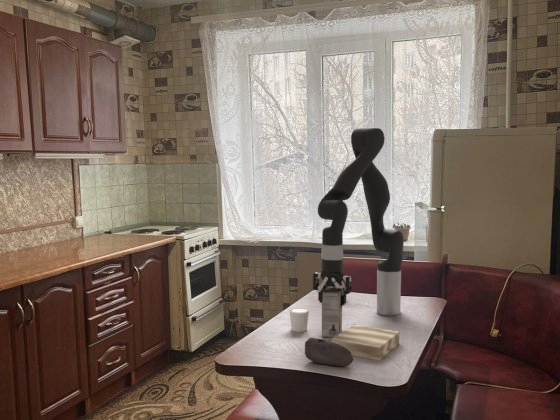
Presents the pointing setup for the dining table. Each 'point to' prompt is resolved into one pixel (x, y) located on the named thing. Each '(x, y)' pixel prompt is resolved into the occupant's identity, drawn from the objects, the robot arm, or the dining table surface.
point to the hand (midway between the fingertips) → (332, 303)
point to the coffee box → (331, 312)
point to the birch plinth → (368, 341)
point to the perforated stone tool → (327, 352)
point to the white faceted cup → (299, 319)
